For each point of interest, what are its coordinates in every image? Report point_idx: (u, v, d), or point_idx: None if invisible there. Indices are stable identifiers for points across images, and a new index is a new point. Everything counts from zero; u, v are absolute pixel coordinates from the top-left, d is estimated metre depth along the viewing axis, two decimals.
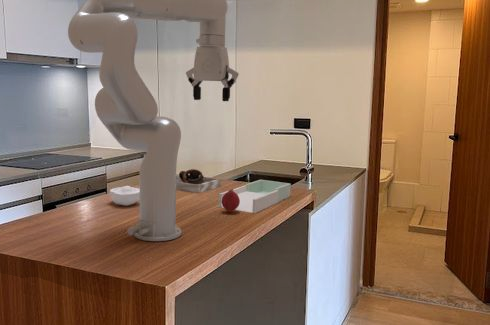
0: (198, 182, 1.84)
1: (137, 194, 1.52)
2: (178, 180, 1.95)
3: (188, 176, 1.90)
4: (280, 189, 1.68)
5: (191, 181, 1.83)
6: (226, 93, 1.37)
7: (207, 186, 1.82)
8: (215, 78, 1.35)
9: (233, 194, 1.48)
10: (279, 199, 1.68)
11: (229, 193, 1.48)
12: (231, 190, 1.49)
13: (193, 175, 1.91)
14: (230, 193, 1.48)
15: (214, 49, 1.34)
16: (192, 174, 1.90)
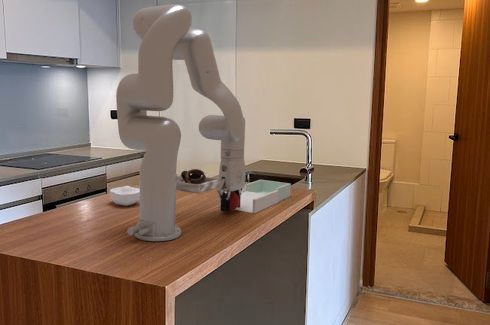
0: (200, 182, 1.84)
1: (137, 194, 1.52)
2: (178, 180, 1.95)
3: (190, 176, 1.91)
4: (280, 189, 1.68)
5: (193, 181, 1.83)
6: None
7: (207, 186, 1.82)
8: (242, 186, 1.50)
9: (233, 194, 1.48)
10: (279, 199, 1.68)
11: None
12: None
13: (195, 175, 1.92)
14: (230, 193, 1.48)
15: (242, 161, 1.48)
16: (194, 174, 1.91)
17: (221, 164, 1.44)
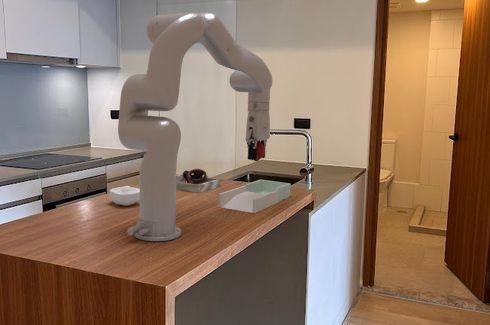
0: (202, 181, 1.85)
1: (137, 194, 1.52)
2: (178, 180, 1.95)
3: (192, 176, 1.92)
4: (280, 189, 1.68)
5: (195, 181, 1.84)
6: None
7: (207, 186, 1.82)
8: (267, 137, 1.63)
9: (259, 144, 1.61)
10: (279, 199, 1.68)
11: None
12: (257, 140, 1.61)
13: (197, 175, 1.92)
14: None
15: (267, 113, 1.61)
16: (196, 174, 1.92)
17: (249, 115, 1.57)
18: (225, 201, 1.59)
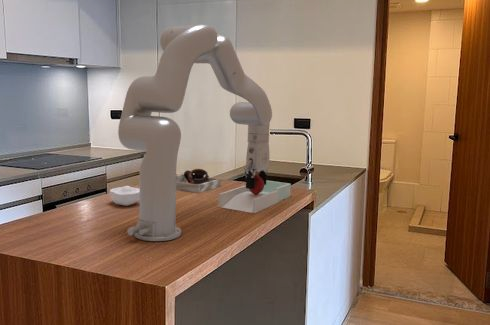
0: (204, 181, 1.85)
1: (137, 194, 1.52)
2: (178, 180, 1.95)
3: (193, 175, 1.92)
4: (280, 189, 1.68)
5: (197, 180, 1.84)
6: None
7: (207, 186, 1.82)
8: (267, 167, 1.65)
9: (258, 178, 1.63)
10: (279, 199, 1.68)
11: (255, 178, 1.63)
12: (256, 175, 1.63)
13: (198, 174, 1.92)
14: (255, 177, 1.63)
15: (267, 144, 1.63)
16: (197, 173, 1.92)
17: (248, 147, 1.59)
18: (225, 201, 1.59)
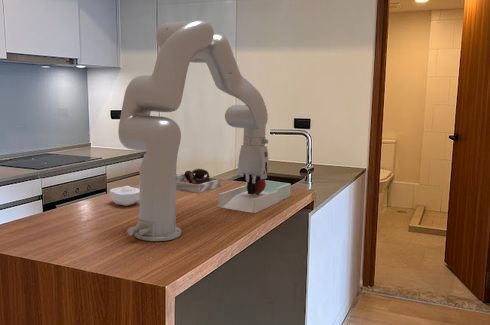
0: (205, 181, 1.85)
1: (137, 194, 1.52)
2: (178, 180, 1.95)
3: (194, 176, 1.91)
4: (280, 189, 1.68)
5: (199, 181, 1.84)
6: None
7: (207, 186, 1.82)
8: None
9: None
10: (279, 199, 1.68)
11: None
12: None
13: (198, 175, 1.92)
14: None
15: None
16: (197, 174, 1.92)
17: (263, 151, 1.57)
18: (225, 201, 1.59)
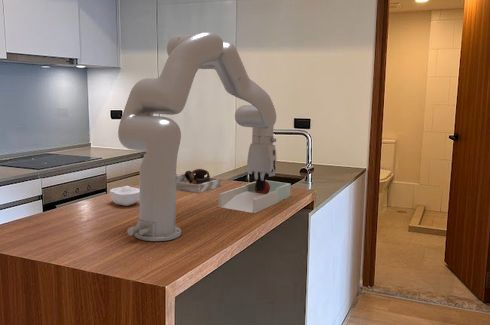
0: (206, 181, 1.85)
1: (137, 194, 1.52)
2: (178, 180, 1.95)
3: (194, 176, 1.91)
4: (280, 189, 1.68)
5: (199, 181, 1.84)
6: None
7: (207, 186, 1.82)
8: None
9: None
10: (279, 199, 1.68)
11: None
12: None
13: (199, 175, 1.92)
14: None
15: None
16: (198, 174, 1.92)
17: (271, 149, 1.63)
18: (225, 201, 1.59)
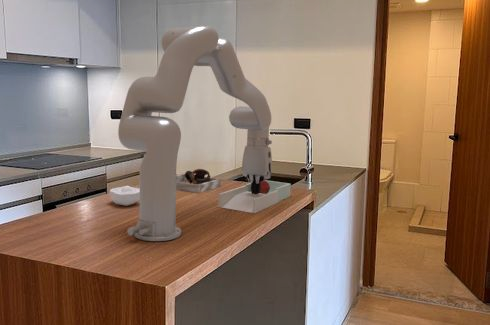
0: None
1: (137, 194, 1.52)
2: (178, 180, 1.95)
3: (194, 176, 1.91)
4: (280, 189, 1.68)
5: (199, 181, 1.84)
6: None
7: (207, 186, 1.82)
8: None
9: None
10: (279, 199, 1.68)
11: None
12: None
13: (199, 175, 1.92)
14: None
15: None
16: (198, 174, 1.92)
17: (267, 152, 1.60)
18: (225, 201, 1.59)
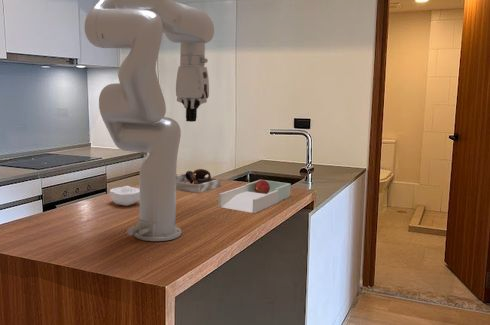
0: None
1: (137, 194, 1.52)
2: (178, 180, 1.95)
3: (194, 176, 1.91)
4: (280, 189, 1.68)
5: (201, 181, 1.84)
6: None
7: (207, 186, 1.82)
8: None
9: None
10: (279, 199, 1.68)
11: None
12: None
13: (199, 175, 1.92)
14: None
15: None
16: (198, 174, 1.91)
17: (201, 71, 1.41)
18: (225, 201, 1.59)
